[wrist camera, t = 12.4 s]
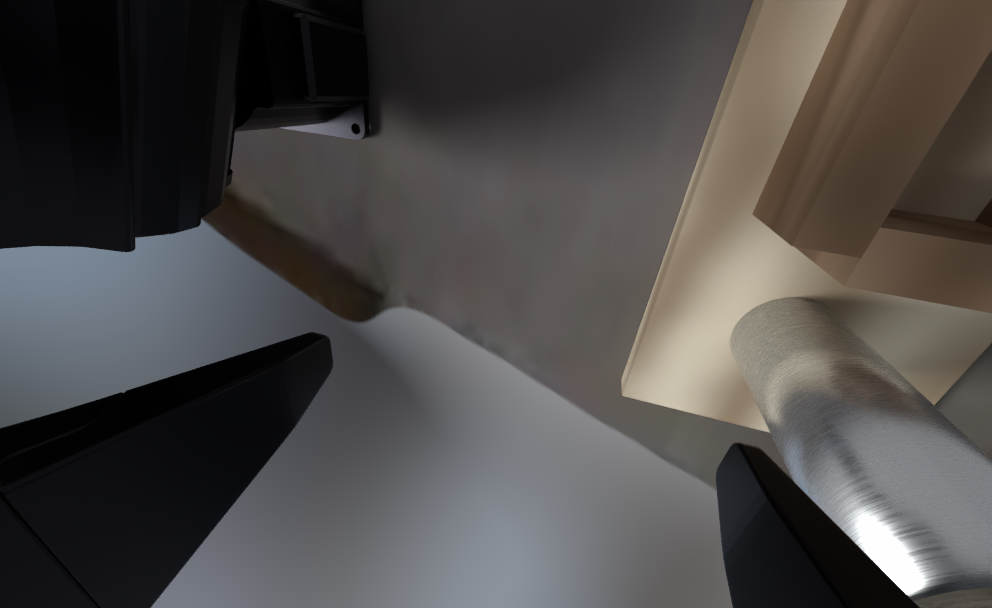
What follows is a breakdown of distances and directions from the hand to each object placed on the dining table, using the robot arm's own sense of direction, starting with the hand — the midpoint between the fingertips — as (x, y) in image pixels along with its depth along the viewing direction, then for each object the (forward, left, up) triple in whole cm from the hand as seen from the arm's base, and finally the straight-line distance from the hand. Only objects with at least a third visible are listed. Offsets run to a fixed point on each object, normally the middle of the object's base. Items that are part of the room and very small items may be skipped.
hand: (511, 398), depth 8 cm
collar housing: (+12, +1, -13) cm, 17 cm away
